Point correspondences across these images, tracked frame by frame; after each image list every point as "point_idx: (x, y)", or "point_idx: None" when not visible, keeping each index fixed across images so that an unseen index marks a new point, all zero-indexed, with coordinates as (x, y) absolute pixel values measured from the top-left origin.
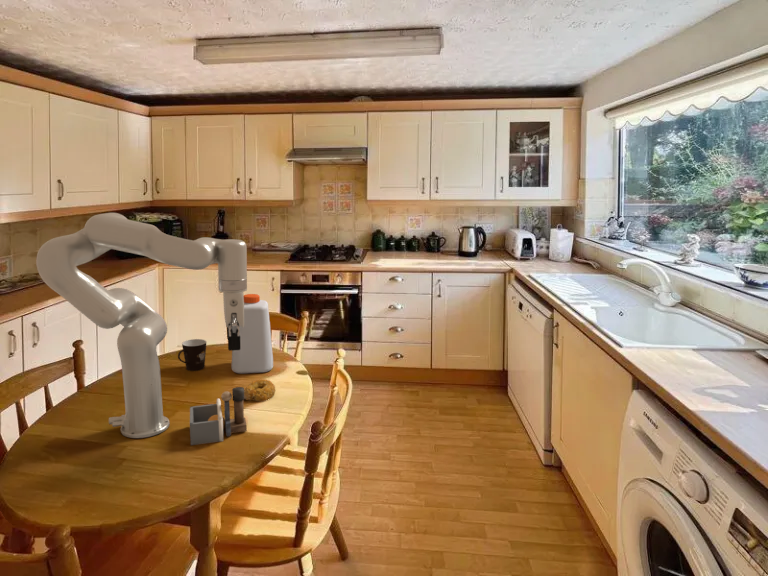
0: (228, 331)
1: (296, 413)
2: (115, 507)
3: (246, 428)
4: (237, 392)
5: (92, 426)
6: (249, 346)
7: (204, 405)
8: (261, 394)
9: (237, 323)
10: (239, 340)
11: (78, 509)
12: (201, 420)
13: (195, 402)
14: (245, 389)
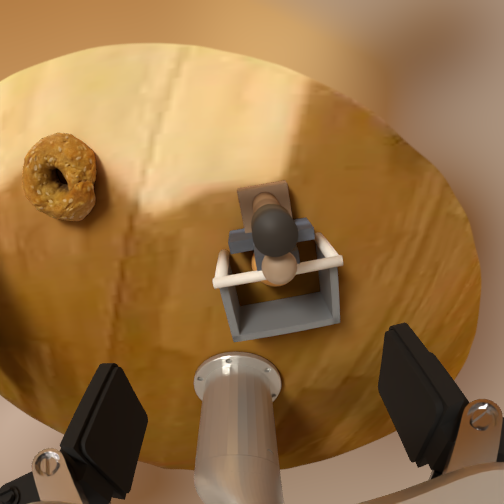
0: (132, 463)
1: (181, 56)
2: (457, 340)
3: (285, 181)
4: (297, 234)
5: None
6: None
7: (228, 312)
8: (86, 165)
9: (73, 478)
10: (441, 375)
11: None
12: (236, 298)
13: (113, 320)
14: (65, 216)
